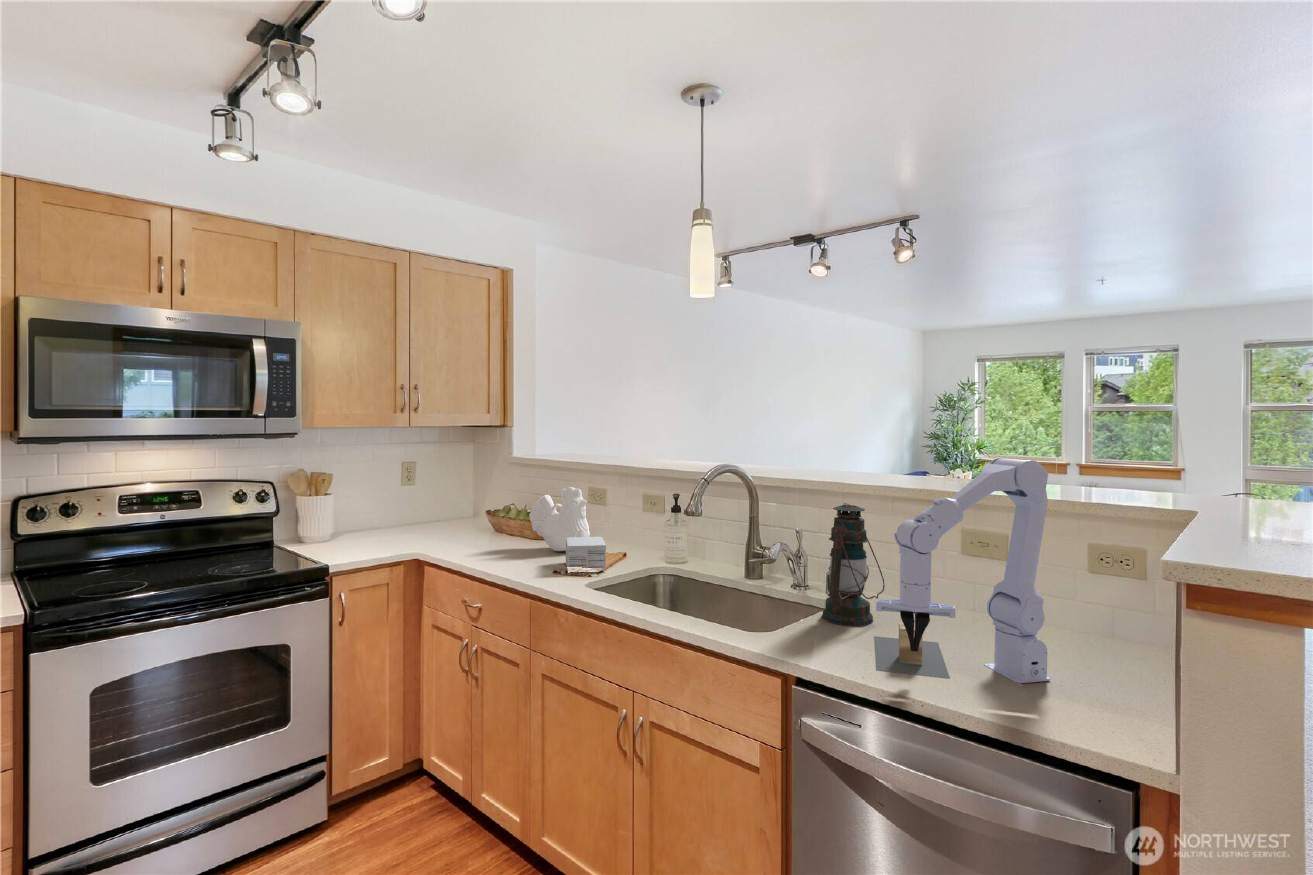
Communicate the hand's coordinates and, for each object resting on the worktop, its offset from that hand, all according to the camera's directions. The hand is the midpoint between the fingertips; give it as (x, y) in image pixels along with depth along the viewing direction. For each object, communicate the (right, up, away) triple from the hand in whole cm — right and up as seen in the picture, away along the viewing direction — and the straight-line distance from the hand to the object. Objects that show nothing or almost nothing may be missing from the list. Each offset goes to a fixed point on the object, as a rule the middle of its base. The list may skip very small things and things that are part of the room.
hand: (914, 649), depth 132 cm
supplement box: (-76, -3, +97) cm, 123 cm away
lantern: (-1, -5, +41) cm, 41 cm away
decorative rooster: (-89, -2, +127) cm, 155 cm away
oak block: (+3, -6, +10) cm, 12 cm away
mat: (+4, -6, +13) cm, 15 cm away
